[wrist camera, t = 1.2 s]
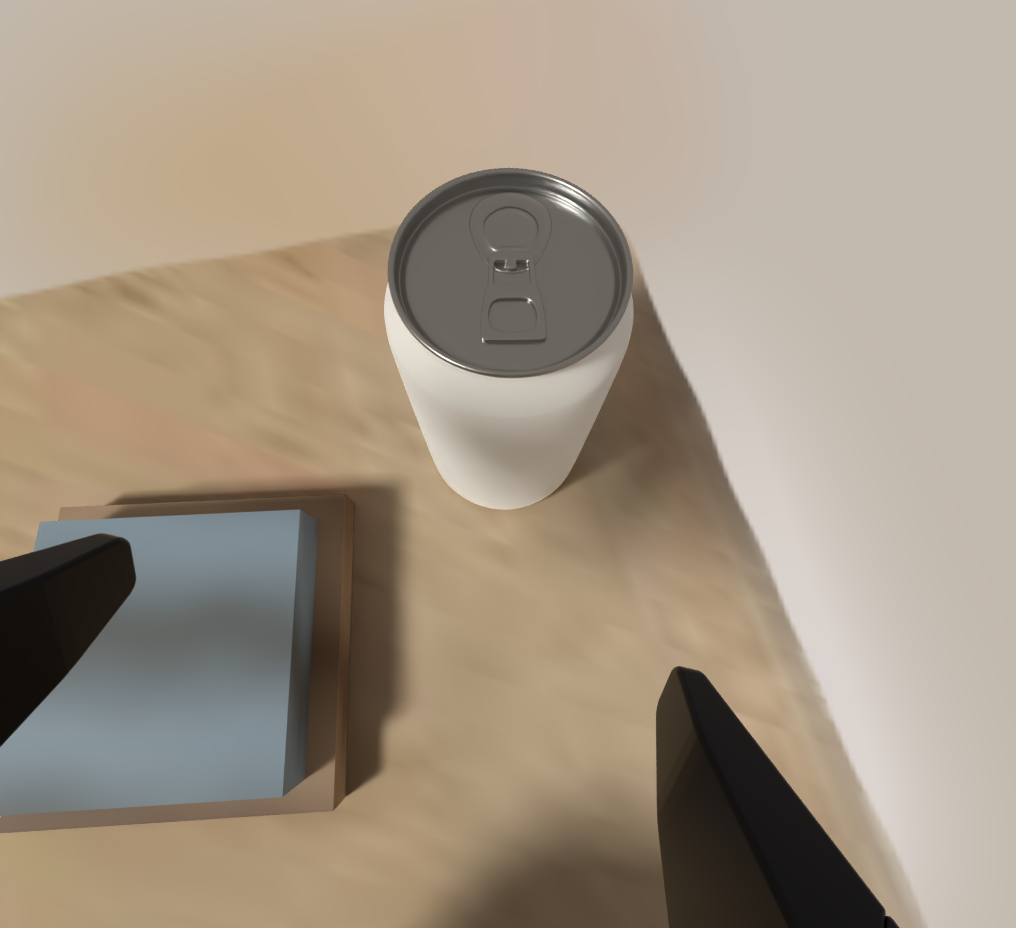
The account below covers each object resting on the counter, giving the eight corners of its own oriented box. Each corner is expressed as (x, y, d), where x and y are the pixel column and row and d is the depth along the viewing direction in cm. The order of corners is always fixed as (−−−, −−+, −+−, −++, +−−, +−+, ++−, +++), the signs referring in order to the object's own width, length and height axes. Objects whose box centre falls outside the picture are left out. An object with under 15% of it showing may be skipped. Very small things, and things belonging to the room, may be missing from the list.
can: (572, 373, 25) (638, 152, 13) (581, 511, 23) (667, 393, 11) (432, 375, 24) (375, 152, 13) (429, 513, 23) (359, 397, 11)
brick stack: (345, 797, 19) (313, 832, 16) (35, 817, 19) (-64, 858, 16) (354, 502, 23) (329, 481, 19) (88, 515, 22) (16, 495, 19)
